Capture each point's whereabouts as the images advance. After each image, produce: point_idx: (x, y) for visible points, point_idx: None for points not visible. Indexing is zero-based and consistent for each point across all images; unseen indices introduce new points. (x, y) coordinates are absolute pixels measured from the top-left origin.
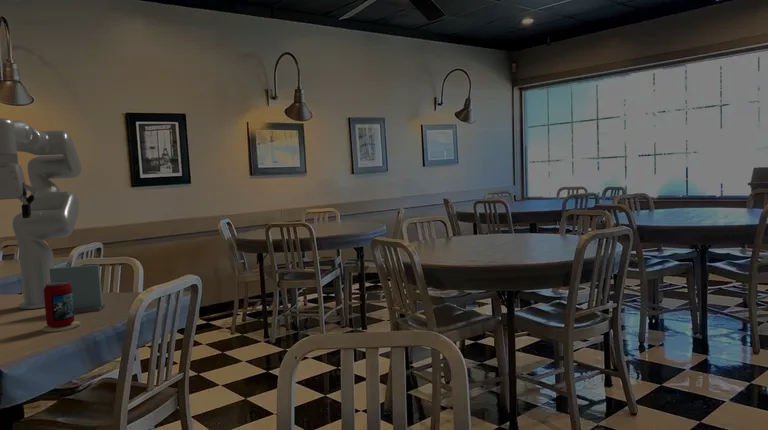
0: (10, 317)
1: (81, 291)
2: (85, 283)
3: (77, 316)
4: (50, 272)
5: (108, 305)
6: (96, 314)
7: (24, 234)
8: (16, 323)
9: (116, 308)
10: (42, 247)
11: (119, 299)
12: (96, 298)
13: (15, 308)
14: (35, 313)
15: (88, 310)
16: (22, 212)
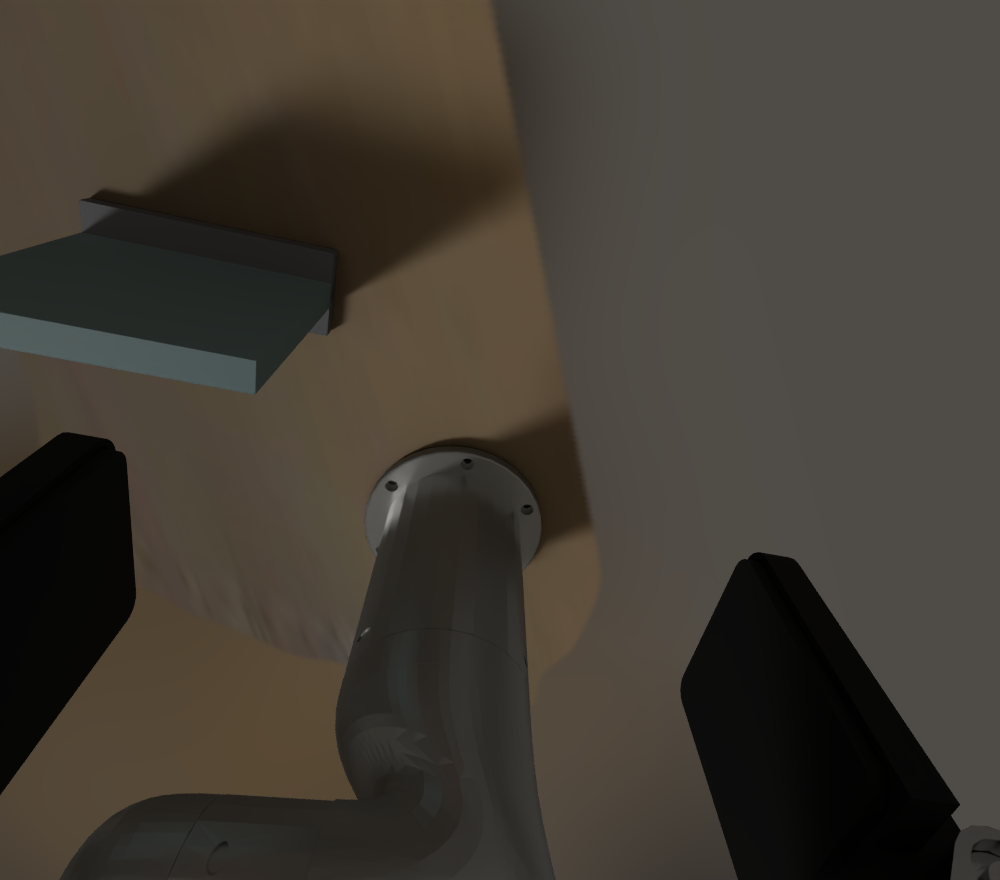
0: (535, 316)
1: (133, 272)
2: (75, 277)
3: (170, 110)
4: (259, 349)
5: None
6: (69, 98)
7: (460, 810)
8: (469, 129)
9: (10, 208)
10: (364, 720)
11: None
12: (76, 244)
13: (555, 514)
14: (433, 342)
15: (146, 212)
16: (38, 510)
